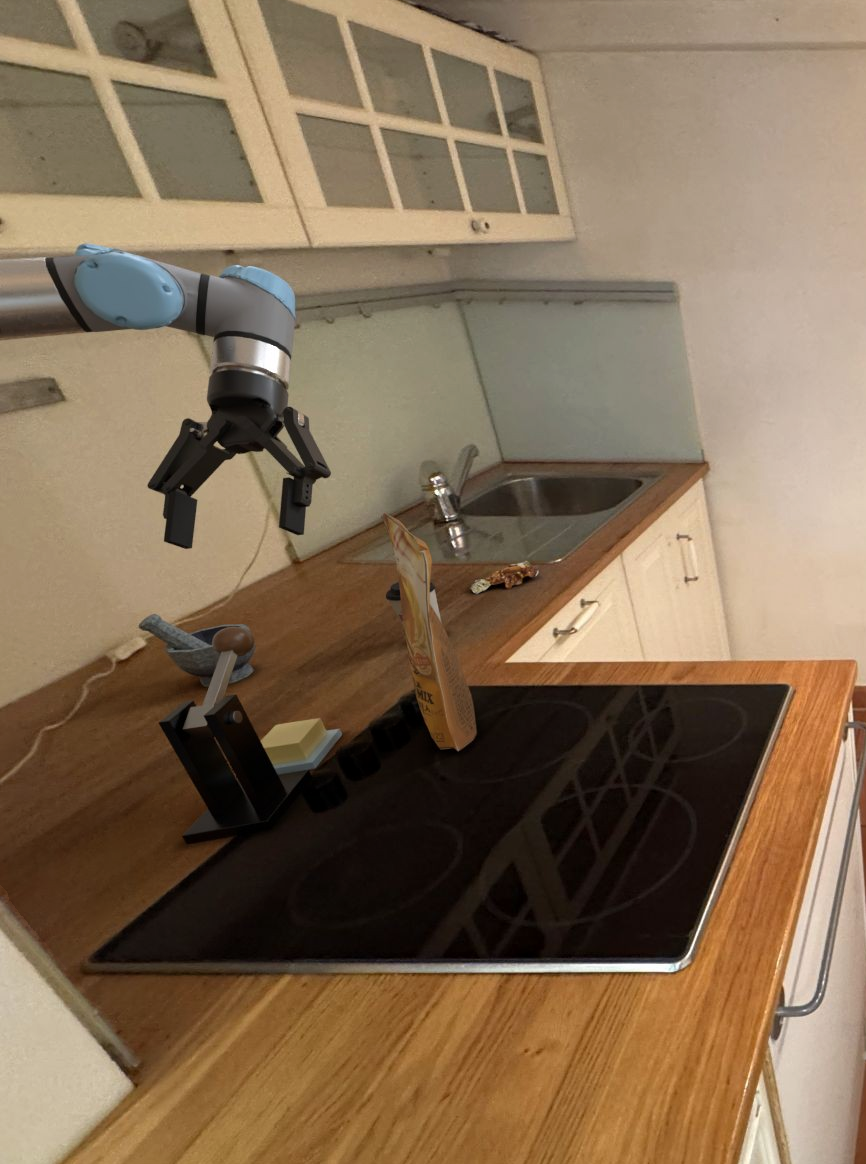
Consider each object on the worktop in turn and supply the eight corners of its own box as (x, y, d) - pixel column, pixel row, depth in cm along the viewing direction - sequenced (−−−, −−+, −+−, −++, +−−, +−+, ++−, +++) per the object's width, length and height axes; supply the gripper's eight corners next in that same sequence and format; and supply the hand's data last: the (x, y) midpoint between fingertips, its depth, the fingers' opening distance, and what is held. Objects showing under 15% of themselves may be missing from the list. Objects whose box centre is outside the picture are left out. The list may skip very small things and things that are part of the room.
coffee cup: (411, 633, 131) (390, 579, 127) (456, 626, 133) (437, 573, 129) (398, 650, 125) (375, 594, 121) (445, 643, 127) (425, 588, 123)
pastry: (466, 588, 149) (460, 571, 148) (530, 570, 157) (525, 553, 156) (479, 597, 145) (473, 579, 143) (544, 578, 153) (539, 561, 151)
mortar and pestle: (270, 656, 125) (238, 589, 120) (266, 678, 118) (231, 608, 113) (178, 678, 119) (140, 608, 114) (168, 702, 112) (126, 629, 107)
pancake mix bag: (474, 688, 113) (409, 505, 101) (498, 744, 100) (426, 540, 87) (421, 703, 110) (347, 516, 97) (438, 764, 96) (354, 554, 84)
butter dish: (249, 779, 94) (237, 756, 93) (281, 744, 101) (270, 721, 100) (315, 768, 96) (304, 745, 94) (342, 734, 103) (332, 712, 101)
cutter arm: (229, 641, 92) (209, 623, 89) (264, 636, 93) (245, 618, 90) (193, 743, 84) (170, 727, 81) (232, 737, 85) (210, 721, 82)
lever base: (236, 790, 93) (182, 691, 87) (312, 777, 94) (265, 680, 88) (186, 844, 84) (122, 739, 78) (271, 829, 86) (215, 725, 80)
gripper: (370, 387, 102) (361, 536, 97) (180, 410, 102) (161, 560, 97) (325, 355, 95) (313, 513, 90) (119, 379, 94) (96, 540, 89)
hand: (234, 538), depth 93 cm, fingers open, 13 cm apart
